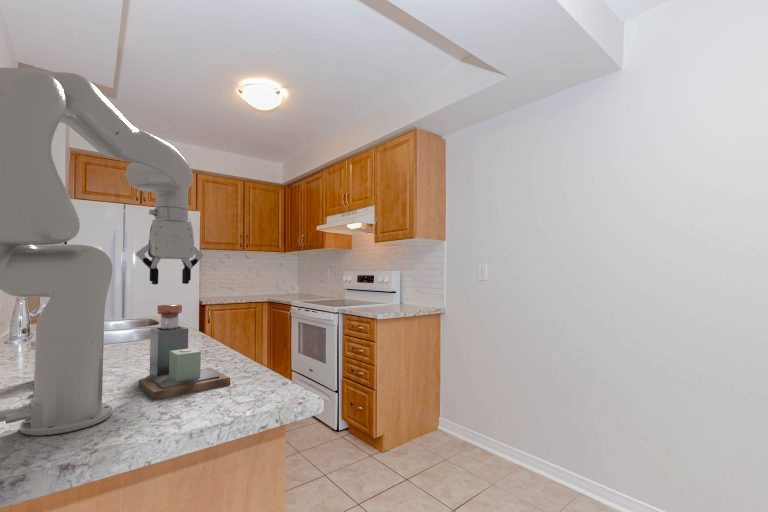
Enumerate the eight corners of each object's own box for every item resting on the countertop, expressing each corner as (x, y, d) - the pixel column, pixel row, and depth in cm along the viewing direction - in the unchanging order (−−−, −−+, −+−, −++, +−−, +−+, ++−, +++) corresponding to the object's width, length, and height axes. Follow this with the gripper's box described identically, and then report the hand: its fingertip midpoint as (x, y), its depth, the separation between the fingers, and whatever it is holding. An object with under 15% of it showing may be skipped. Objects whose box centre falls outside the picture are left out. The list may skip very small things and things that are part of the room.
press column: (157, 380, 95) (158, 331, 95) (149, 374, 100) (150, 328, 100) (187, 374, 100) (188, 328, 100) (178, 370, 105) (179, 325, 105)
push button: (160, 342, 96) (161, 306, 96) (154, 339, 100) (154, 305, 100) (184, 340, 100) (185, 305, 100) (177, 337, 104) (178, 304, 104)
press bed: (153, 400, 80) (153, 390, 80) (138, 386, 89) (138, 378, 89) (230, 384, 91) (230, 375, 91) (209, 373, 100) (209, 366, 101)
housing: (177, 381, 86) (177, 354, 87) (168, 376, 91) (169, 350, 91) (200, 377, 90) (200, 350, 90) (191, 372, 94) (191, 347, 94)
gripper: (137, 210, 92) (135, 285, 92) (211, 217, 105) (210, 283, 104) (130, 214, 98) (128, 284, 97) (201, 220, 110) (200, 282, 109)
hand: (170, 283), depth 101 cm, fingers open, 6 cm apart
